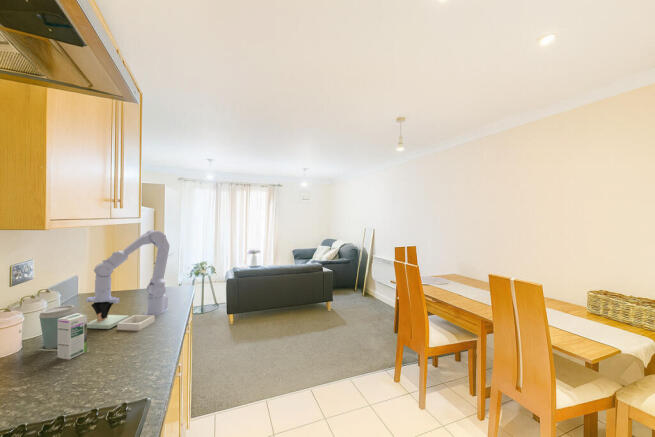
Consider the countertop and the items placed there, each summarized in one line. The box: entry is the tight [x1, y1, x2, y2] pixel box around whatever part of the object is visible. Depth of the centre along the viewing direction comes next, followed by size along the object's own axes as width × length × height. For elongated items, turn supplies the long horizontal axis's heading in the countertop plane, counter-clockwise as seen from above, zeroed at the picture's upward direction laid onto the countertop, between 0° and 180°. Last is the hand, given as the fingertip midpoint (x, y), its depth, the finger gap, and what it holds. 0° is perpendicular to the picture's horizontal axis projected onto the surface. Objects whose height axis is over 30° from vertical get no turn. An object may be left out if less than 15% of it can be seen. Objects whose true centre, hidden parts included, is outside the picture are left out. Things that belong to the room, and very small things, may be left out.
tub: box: [116, 314, 156, 332], centre depth 121 cm, size 10×10×4 cm
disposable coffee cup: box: [38, 304, 78, 350], centre depth 102 cm, size 11×11×15 cm
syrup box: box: [57, 312, 88, 361], centre depth 96 cm, size 6×6×14 cm
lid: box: [87, 313, 130, 330], centre depth 121 cm, size 11×11×5 cm
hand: (102, 317), depth 121 cm, fingers closed on lid
